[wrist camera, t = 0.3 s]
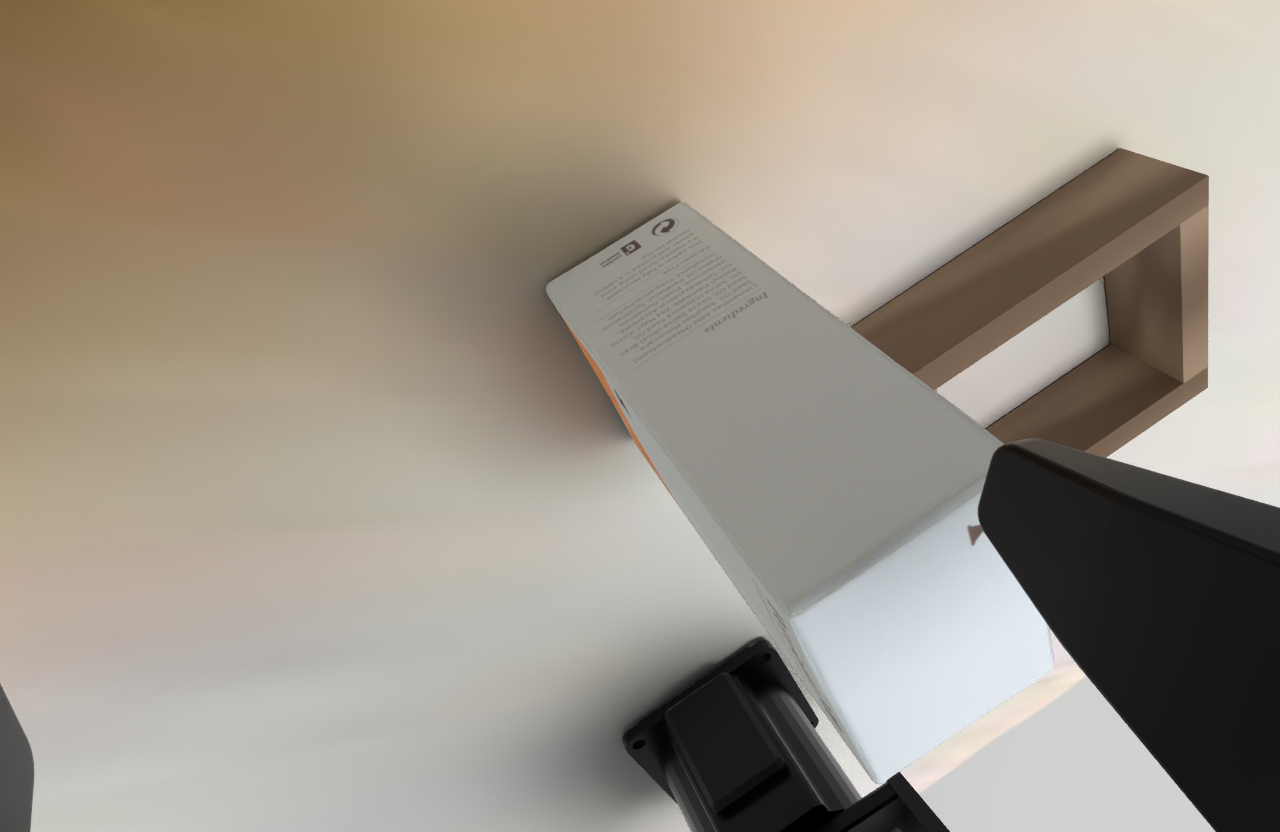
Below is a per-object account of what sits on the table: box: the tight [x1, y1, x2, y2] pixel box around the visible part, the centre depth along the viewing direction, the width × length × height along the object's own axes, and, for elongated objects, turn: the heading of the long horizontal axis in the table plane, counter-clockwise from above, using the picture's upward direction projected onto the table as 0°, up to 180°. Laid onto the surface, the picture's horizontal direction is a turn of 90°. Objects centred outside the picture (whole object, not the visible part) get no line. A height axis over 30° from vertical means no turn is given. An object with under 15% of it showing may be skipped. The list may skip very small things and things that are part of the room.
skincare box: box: [546, 202, 1054, 784], centre depth 18 cm, size 6×4×12 cm
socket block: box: [851, 148, 1209, 458], centre depth 27 cm, size 8×10×3 cm
